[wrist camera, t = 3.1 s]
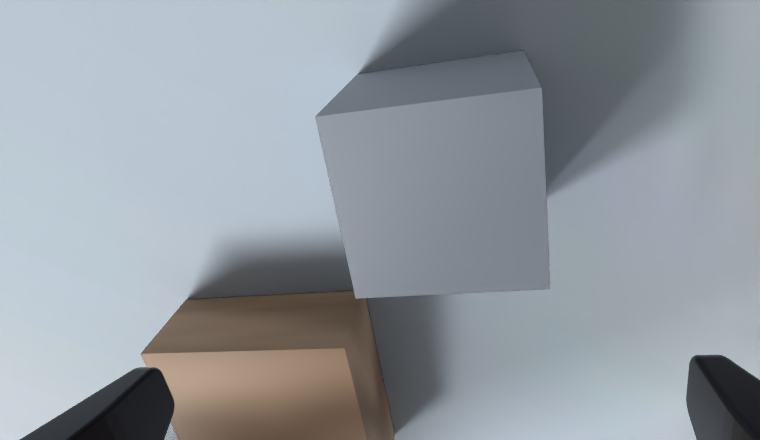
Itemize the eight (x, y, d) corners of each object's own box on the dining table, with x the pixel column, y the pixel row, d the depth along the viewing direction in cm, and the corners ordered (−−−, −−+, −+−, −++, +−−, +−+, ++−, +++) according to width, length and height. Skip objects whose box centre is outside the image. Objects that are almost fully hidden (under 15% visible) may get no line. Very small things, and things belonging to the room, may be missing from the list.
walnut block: (394, 434, 28) (382, 504, 24) (237, 433, 30) (204, 497, 26) (364, 290, 24) (344, 348, 21) (186, 299, 26) (140, 353, 23)
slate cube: (531, 205, 21) (550, 289, 16) (384, 217, 22) (355, 298, 17) (523, 49, 19) (542, 87, 13) (358, 73, 20) (315, 116, 15)
